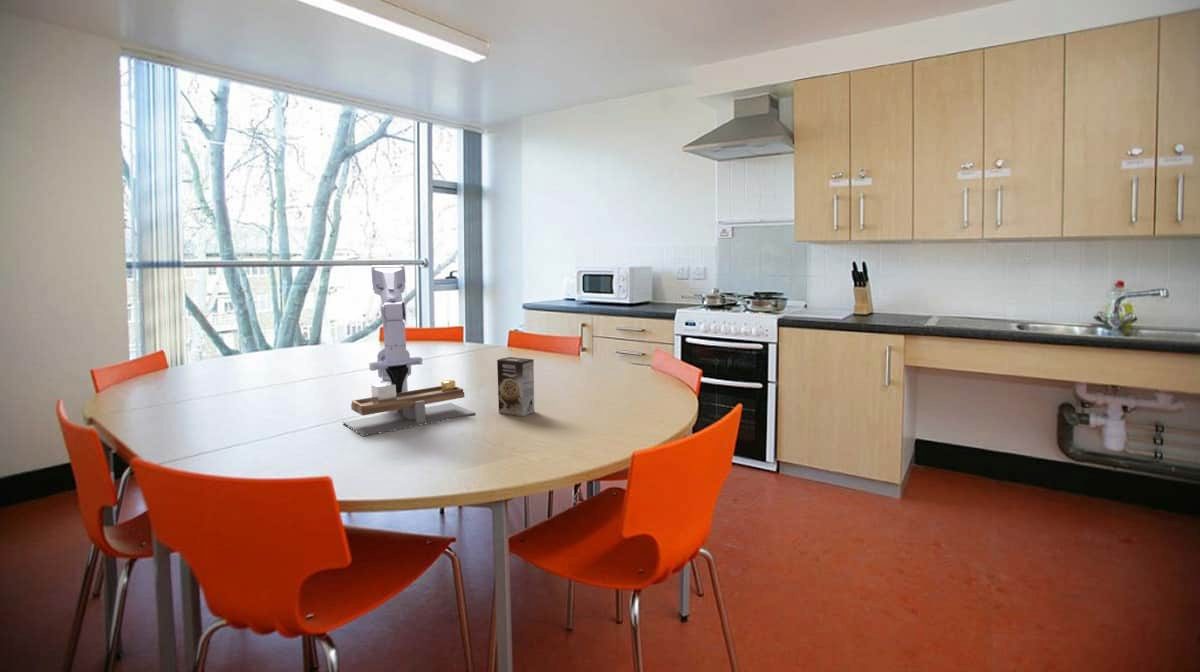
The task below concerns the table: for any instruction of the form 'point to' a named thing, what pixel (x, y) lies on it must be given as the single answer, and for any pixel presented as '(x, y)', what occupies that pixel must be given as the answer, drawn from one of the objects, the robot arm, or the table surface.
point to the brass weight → (448, 385)
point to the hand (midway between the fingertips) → (398, 392)
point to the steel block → (383, 392)
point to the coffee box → (515, 386)
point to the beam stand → (408, 417)
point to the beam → (406, 400)
